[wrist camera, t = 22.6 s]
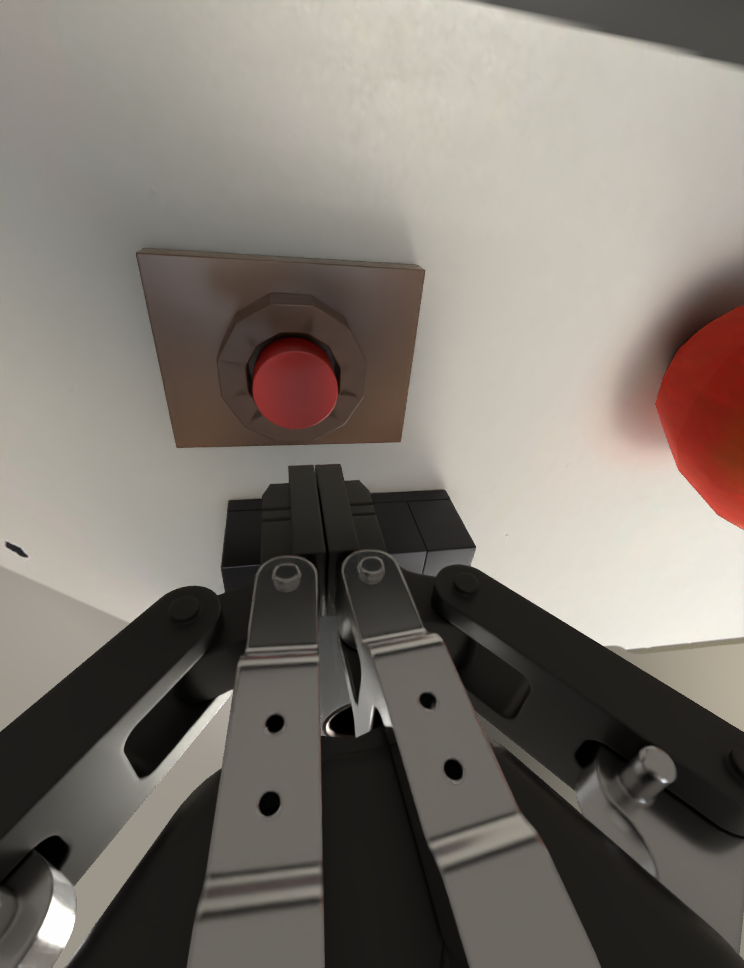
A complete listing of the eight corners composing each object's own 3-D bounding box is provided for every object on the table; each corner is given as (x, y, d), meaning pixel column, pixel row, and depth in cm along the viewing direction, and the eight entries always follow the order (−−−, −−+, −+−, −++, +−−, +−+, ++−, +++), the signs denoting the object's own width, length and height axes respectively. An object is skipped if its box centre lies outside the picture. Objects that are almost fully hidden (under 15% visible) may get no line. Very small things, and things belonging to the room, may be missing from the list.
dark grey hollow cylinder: (384, 565, 31) (425, 709, 23) (343, 601, 32) (368, 748, 24) (335, 540, 28) (363, 690, 20) (293, 580, 30) (303, 735, 22)
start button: (256, 412, 20) (255, 430, 19) (250, 335, 18) (248, 349, 17) (332, 411, 21) (336, 428, 20) (334, 337, 19) (339, 351, 18)
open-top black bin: (245, 623, 33) (242, 692, 29) (228, 500, 26) (220, 567, 22) (419, 604, 36) (440, 665, 32) (445, 489, 29) (476, 547, 25)
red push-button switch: (180, 436, 23) (170, 467, 21) (142, 247, 18) (123, 260, 16) (396, 432, 26) (409, 459, 23) (418, 264, 20) (438, 278, 18)
